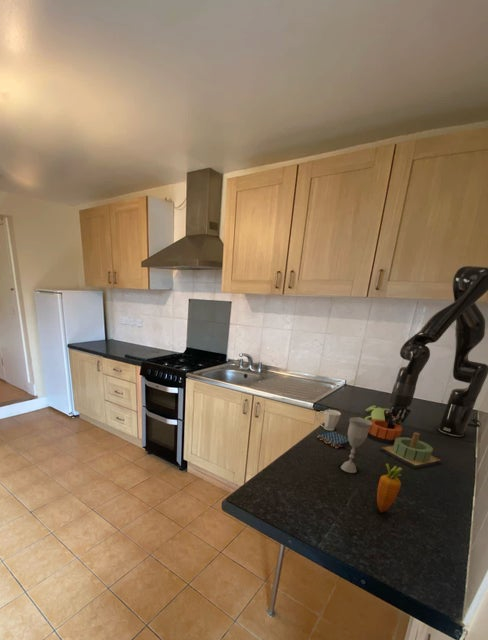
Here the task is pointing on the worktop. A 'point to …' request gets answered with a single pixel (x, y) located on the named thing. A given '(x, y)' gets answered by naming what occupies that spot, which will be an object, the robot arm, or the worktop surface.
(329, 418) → the cup
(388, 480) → the carrot
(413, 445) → the ring stand
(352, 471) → the chalice
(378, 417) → the figurine
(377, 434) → the orange ring
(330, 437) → the woven mat
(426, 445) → the green ring
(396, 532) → the worktop surface
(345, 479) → the worktop surface
